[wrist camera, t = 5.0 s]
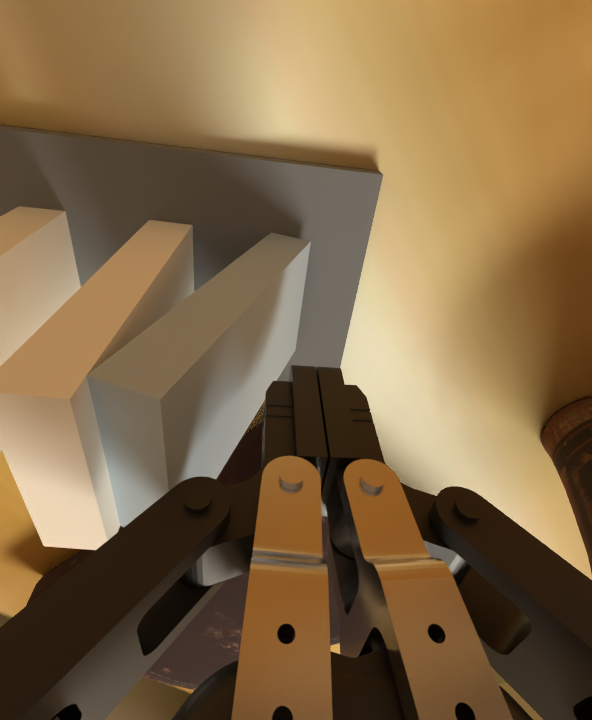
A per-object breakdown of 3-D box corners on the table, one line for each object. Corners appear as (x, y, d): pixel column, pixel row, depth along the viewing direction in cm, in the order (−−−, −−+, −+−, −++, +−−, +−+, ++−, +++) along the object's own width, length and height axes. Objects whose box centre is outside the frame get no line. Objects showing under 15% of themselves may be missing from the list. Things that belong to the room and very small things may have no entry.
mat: (-404, 75, 13) (-431, 76, 12) (379, 171, 15) (383, 174, 15) (-212, 343, 18) (-225, 351, 18) (333, 380, 21) (335, 388, 20)
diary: (41, 563, 31) (5, 637, 27) (279, 390, 22) (278, 462, 18) (223, 636, 40) (216, 701, 36) (450, 531, 31) (476, 603, 26)
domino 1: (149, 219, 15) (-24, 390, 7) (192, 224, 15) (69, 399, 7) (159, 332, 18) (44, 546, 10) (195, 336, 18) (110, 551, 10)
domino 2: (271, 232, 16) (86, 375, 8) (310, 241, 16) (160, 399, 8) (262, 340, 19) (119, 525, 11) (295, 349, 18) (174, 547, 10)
